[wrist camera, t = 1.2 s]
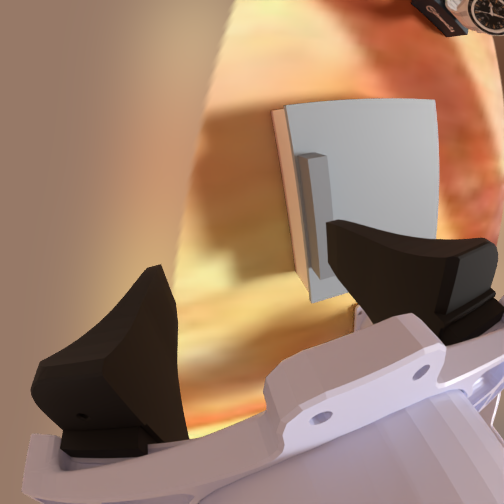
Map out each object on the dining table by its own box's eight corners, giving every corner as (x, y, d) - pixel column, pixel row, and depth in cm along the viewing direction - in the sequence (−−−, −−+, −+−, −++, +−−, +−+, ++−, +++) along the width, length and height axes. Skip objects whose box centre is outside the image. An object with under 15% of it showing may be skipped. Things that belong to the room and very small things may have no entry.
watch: (406, 14, 17) (491, -6, 7) (421, -27, 15) (492, -49, 5) (444, 49, 19) (527, 46, 9) (455, 6, 16) (527, -4, 7)
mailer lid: (429, 260, 24) (445, 271, 21) (309, 299, 23) (319, 317, 20) (430, 99, 17) (450, 100, 15) (283, 105, 16) (295, 103, 14)
